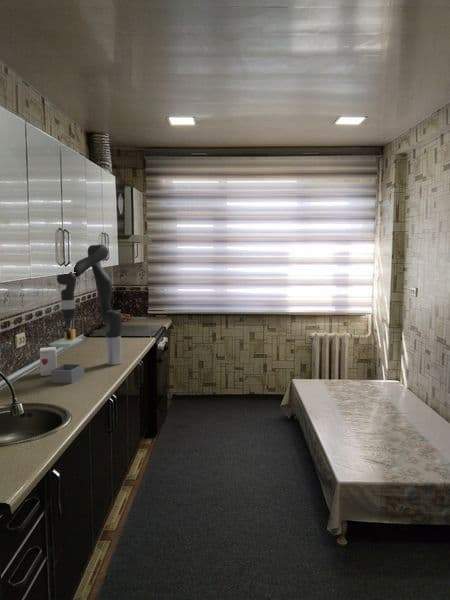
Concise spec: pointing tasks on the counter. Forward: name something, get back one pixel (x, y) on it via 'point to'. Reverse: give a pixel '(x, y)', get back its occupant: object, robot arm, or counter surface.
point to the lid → (67, 340)
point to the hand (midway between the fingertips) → (70, 338)
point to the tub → (67, 373)
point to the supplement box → (47, 360)
